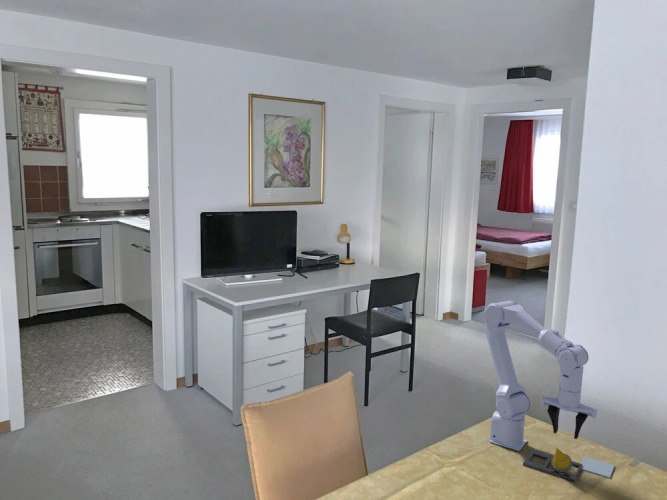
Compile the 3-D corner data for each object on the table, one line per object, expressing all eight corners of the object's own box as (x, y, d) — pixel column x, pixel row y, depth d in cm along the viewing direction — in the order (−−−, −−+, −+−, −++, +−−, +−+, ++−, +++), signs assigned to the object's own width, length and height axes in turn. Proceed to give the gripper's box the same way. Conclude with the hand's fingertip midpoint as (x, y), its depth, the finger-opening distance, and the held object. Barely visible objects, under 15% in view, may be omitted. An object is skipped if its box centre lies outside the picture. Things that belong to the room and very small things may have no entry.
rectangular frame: (522, 465, 160) (522, 463, 160) (532, 451, 168) (532, 449, 168) (574, 482, 152) (574, 479, 152) (582, 466, 160) (582, 464, 160)
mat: (578, 469, 159) (579, 467, 159) (584, 457, 166) (584, 456, 166) (609, 478, 155) (609, 477, 154) (614, 466, 161) (614, 465, 161)
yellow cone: (574, 478, 155) (567, 457, 150) (554, 477, 158) (546, 456, 153) (573, 460, 159) (567, 439, 154) (553, 460, 162) (546, 439, 157)
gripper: (539, 386, 156) (535, 432, 158) (595, 399, 148) (590, 448, 150) (545, 379, 162) (542, 423, 164) (600, 391, 154) (595, 438, 156)
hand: (565, 434), depth 157 cm, fingers open, 5 cm apart
